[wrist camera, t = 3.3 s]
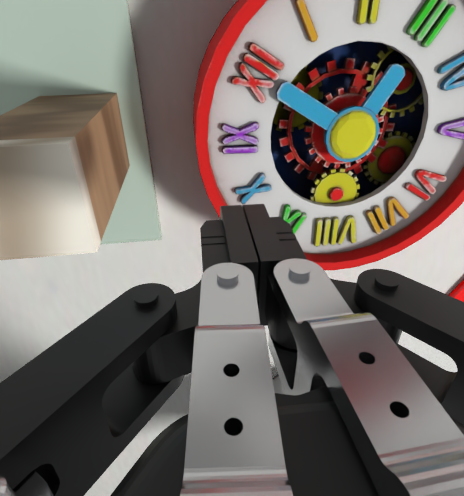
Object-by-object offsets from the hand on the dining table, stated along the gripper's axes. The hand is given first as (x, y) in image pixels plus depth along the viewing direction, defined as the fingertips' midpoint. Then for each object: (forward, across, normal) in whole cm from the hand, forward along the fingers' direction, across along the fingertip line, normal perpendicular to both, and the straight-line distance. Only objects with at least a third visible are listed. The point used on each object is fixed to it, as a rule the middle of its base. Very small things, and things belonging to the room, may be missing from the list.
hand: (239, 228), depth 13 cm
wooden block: (+16, +9, 0) cm, 18 cm away
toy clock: (+17, -9, 0) cm, 19 cm away
